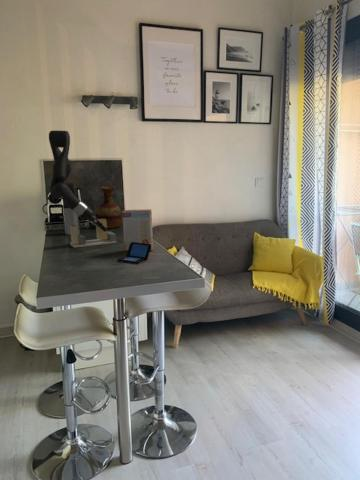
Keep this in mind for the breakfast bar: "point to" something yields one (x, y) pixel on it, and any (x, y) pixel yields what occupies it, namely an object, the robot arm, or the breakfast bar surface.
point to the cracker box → (137, 227)
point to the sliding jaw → (76, 236)
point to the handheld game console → (137, 253)
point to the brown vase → (109, 209)
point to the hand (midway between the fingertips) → (104, 229)
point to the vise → (110, 239)
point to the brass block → (99, 231)
